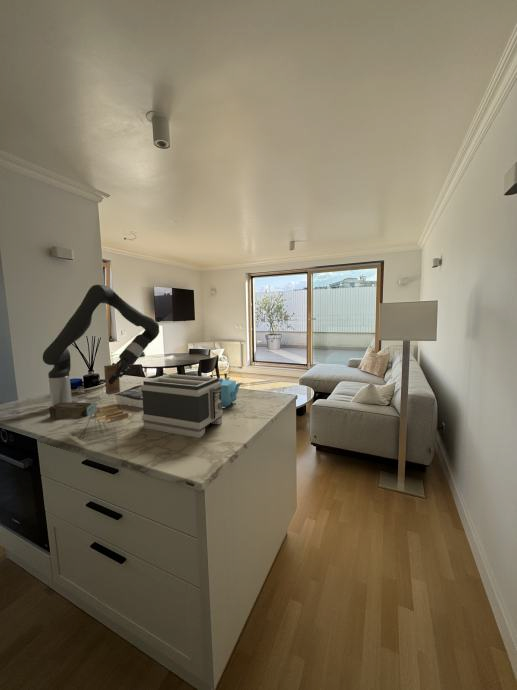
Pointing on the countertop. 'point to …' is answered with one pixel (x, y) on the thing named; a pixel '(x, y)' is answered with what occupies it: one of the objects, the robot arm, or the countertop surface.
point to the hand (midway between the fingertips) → (107, 382)
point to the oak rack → (110, 413)
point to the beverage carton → (71, 410)
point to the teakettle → (228, 391)
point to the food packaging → (131, 397)
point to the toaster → (181, 404)
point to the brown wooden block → (108, 374)
